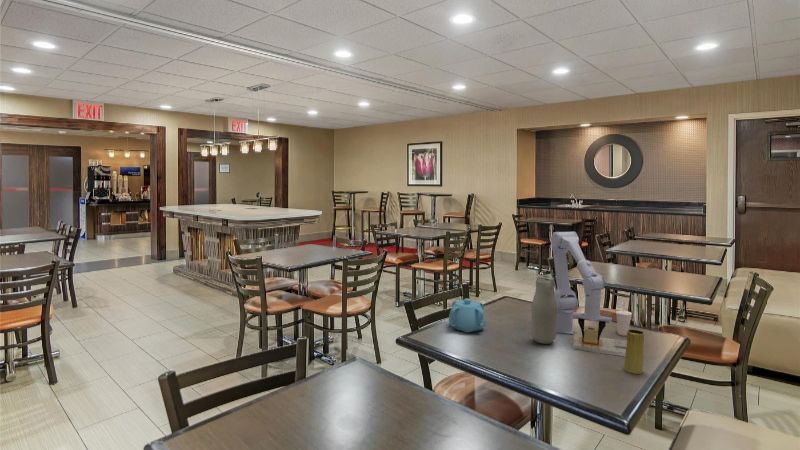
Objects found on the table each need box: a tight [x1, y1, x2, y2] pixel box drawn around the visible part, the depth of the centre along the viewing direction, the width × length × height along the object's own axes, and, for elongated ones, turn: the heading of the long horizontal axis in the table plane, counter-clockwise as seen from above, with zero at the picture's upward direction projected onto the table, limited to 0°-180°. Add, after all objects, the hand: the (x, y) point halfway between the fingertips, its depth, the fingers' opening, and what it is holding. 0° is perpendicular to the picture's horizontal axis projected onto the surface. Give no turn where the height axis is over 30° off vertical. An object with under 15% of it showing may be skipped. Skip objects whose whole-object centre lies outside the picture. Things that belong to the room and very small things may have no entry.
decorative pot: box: [448, 298, 487, 334], centre depth 200 cm, size 16×16×14 cm
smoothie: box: [615, 302, 633, 337], centre depth 195 cm, size 6×6×14 cm
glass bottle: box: [530, 274, 558, 345], centre depth 183 cm, size 10×10×28 cm
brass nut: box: [583, 325, 598, 345], centre depth 182 cm, size 5×5×6 cm
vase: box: [623, 328, 645, 375], centre depth 158 cm, size 6×6×14 cm
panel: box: [572, 333, 627, 358], centre depth 180 cm, size 24×14×2 cm, turn 67°
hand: (590, 338), depth 182 cm, fingers closed on brass nut, 5 cm apart
